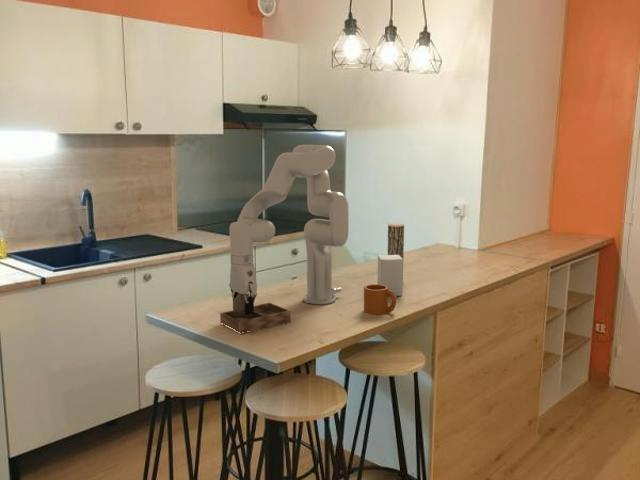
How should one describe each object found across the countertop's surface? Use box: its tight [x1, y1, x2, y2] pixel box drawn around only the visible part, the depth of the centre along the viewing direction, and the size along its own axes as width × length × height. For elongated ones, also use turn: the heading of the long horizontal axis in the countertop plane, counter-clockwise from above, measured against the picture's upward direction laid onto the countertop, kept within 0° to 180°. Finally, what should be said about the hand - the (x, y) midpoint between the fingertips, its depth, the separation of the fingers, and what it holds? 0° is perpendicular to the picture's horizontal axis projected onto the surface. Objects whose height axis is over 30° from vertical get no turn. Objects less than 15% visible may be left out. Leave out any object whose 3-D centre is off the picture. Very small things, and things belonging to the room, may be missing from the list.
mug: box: [363, 283, 397, 315], centre depth 220 cm, size 9×12×9 cm
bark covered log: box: [387, 222, 405, 260], centre depth 261 cm, size 7×7×25 cm
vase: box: [232, 293, 251, 318], centre depth 204 cm, size 7×7×9 cm
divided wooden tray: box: [219, 302, 292, 333], centre depth 208 cm, size 20×13×4 cm, turn 128°
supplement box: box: [377, 254, 404, 297], centre depth 244 cm, size 9×9×15 cm
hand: (243, 310), depth 205 cm, fingers closed on vase, 6 cm apart
